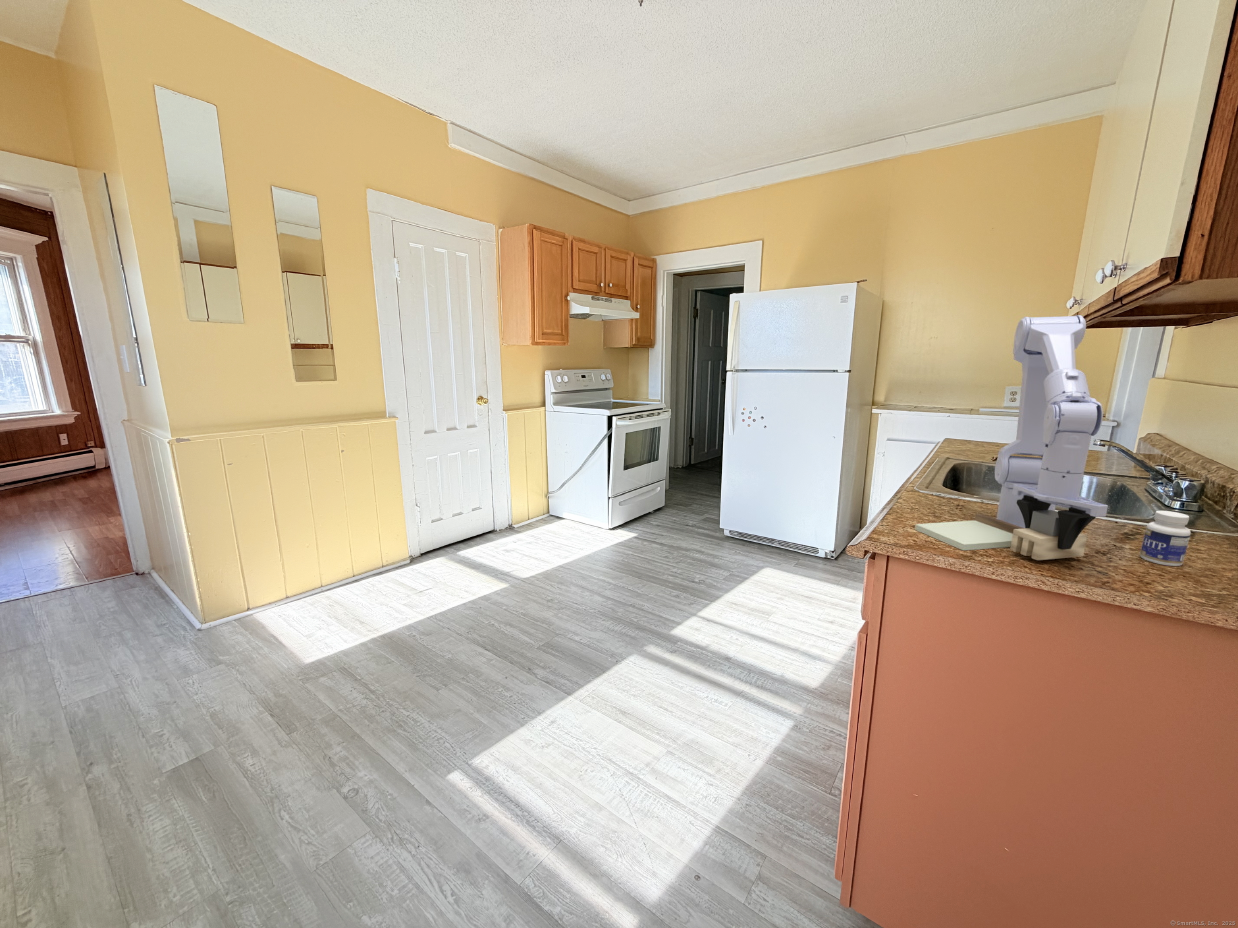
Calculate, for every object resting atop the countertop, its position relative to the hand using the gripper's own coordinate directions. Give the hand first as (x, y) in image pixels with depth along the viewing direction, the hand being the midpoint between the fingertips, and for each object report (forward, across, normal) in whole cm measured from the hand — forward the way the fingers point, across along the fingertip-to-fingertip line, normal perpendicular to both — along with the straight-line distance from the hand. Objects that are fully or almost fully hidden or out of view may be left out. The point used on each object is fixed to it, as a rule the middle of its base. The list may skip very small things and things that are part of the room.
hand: (1047, 542), depth 89 cm
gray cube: (-2, 0, 0) cm, 2 cm away
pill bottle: (+3, +5, +19) cm, 20 cm away
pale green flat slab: (+3, -12, -4) cm, 12 cm away
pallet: (+2, 0, 0) cm, 2 cm away
